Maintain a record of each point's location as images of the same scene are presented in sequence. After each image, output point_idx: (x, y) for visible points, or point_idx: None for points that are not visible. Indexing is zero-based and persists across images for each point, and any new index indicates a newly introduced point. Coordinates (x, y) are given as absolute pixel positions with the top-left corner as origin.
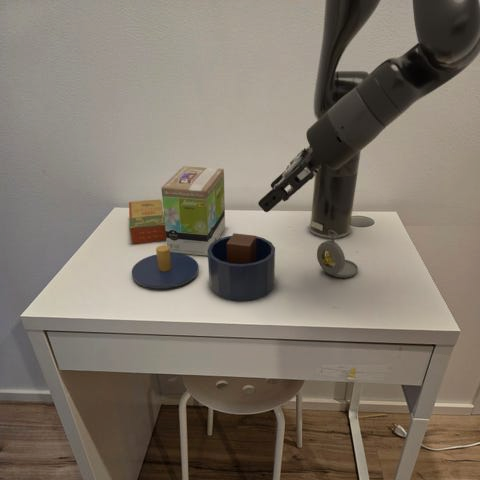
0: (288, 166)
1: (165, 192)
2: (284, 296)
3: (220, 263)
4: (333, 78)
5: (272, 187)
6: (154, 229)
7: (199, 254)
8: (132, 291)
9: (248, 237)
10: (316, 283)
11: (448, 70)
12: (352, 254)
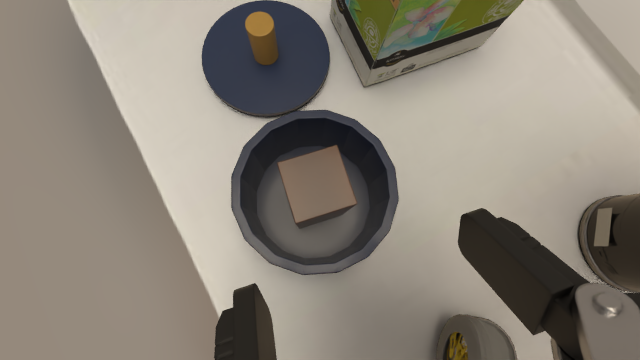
0: (604, 311)
1: None
2: (319, 298)
3: (231, 183)
4: None
5: (463, 223)
6: None
7: (356, 70)
8: (189, 52)
9: (336, 192)
10: (399, 331)
11: None
12: None
